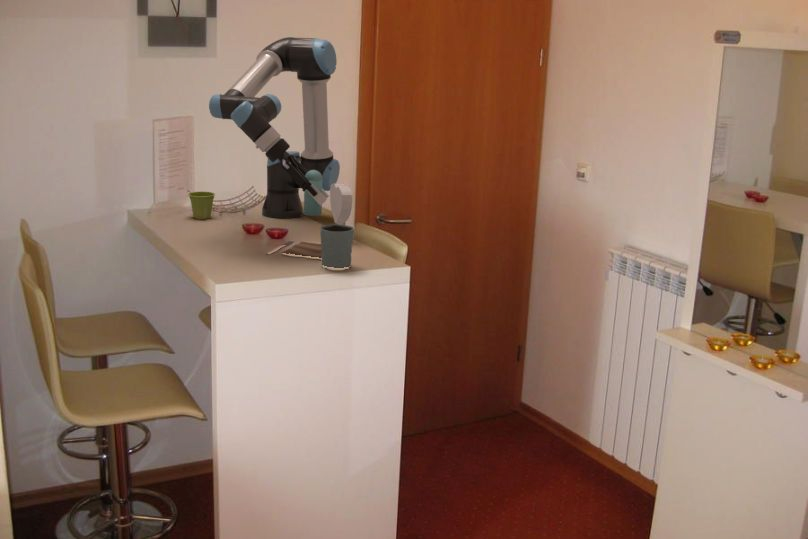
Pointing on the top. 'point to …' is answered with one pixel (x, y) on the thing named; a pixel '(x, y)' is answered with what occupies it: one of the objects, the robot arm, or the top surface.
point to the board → (306, 249)
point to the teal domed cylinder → (309, 202)
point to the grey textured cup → (336, 245)
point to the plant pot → (201, 204)
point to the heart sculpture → (340, 202)
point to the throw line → (288, 242)
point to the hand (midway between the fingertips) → (324, 200)
